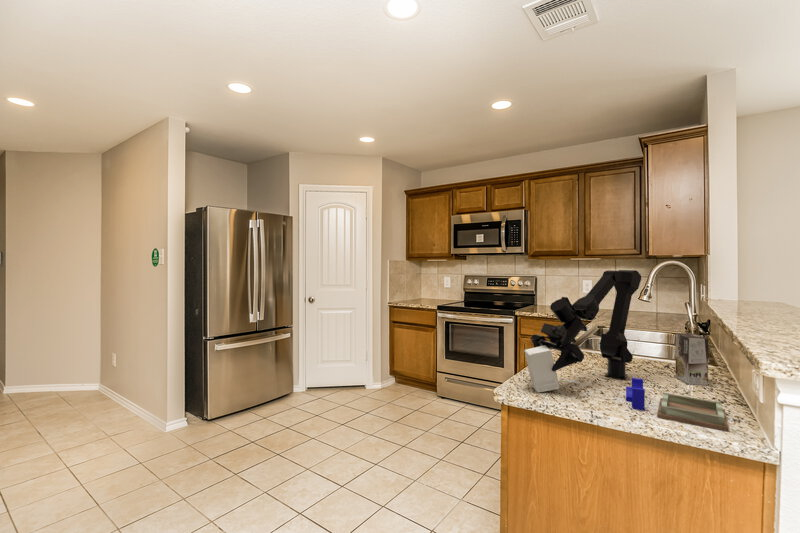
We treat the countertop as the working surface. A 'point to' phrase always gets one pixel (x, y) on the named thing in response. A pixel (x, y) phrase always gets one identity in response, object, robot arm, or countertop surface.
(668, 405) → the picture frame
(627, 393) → the cable clip
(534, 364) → the supplement box
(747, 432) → the countertop surface
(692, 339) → the coffee box
